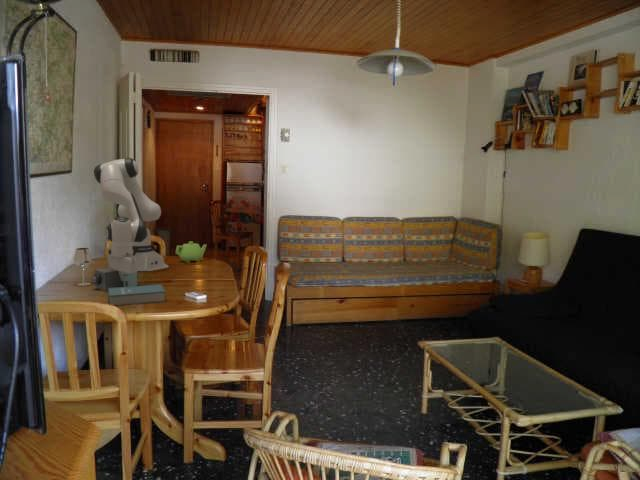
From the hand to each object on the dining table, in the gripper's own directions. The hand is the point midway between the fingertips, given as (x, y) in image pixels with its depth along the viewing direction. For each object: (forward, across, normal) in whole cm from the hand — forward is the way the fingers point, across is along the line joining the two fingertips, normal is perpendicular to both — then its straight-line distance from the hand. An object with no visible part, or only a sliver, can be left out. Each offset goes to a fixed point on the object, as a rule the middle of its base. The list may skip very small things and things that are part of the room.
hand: (123, 280), depth 248 cm
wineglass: (+6, +28, +6) cm, 29 cm away
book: (+5, -19, +4) cm, 20 cm away
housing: (+5, +11, -1) cm, 12 cm away
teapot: (+6, +47, -71) cm, 85 cm away
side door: (+5, +1, -5) cm, 7 cm away
